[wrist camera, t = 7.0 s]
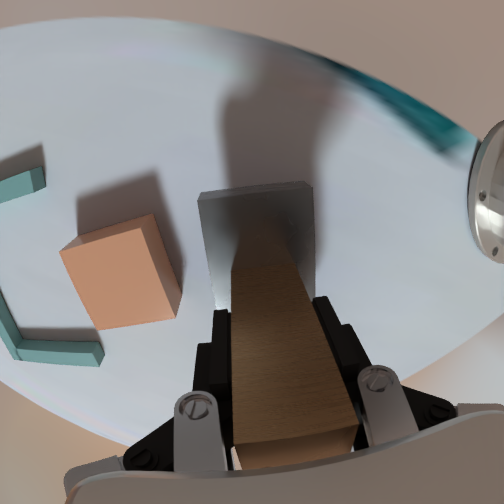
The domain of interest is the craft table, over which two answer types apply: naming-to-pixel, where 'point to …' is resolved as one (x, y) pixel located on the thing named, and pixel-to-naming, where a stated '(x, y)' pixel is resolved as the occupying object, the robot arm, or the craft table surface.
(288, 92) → the craft table surface
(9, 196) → the frame
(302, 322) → the pusher
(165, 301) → the tile
